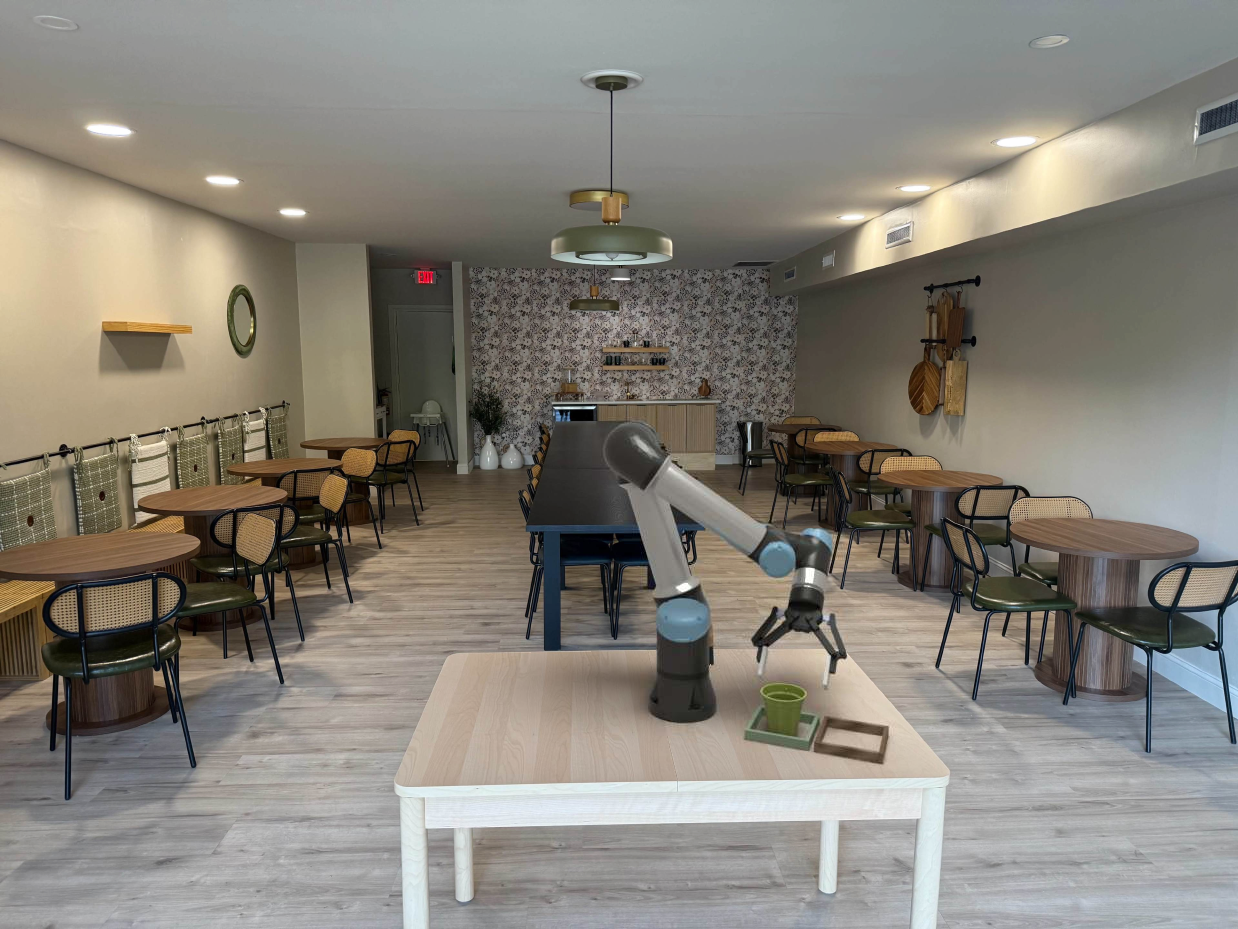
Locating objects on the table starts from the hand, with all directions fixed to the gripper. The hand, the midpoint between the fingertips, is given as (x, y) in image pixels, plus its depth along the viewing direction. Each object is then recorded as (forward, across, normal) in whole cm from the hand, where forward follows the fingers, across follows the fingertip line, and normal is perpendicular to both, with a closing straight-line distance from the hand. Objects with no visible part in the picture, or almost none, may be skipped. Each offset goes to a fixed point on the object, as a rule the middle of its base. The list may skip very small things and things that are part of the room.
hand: (792, 682), depth 169 cm
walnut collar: (+9, -13, -5) cm, 16 cm away
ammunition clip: (-11, +31, -26) cm, 41 cm away
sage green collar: (+9, +1, -5) cm, 10 cm away
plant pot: (+9, +1, -5) cm, 11 cm away
